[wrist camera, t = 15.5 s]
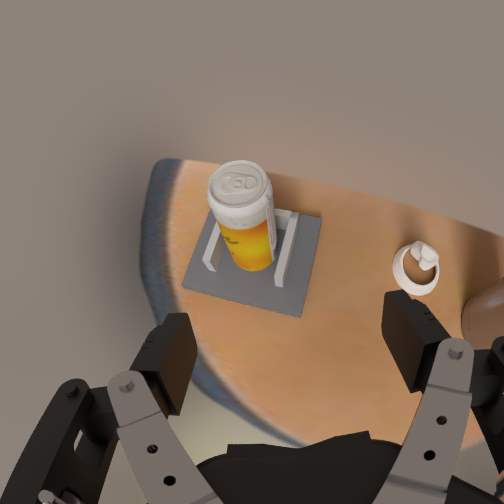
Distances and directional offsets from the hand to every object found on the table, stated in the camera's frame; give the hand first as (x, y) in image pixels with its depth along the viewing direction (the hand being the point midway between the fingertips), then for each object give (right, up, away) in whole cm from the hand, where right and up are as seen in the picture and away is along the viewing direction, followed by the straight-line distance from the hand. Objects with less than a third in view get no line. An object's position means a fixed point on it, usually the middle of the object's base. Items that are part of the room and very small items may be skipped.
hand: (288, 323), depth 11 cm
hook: (+22, 0, +26) cm, 33 cm away
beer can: (-1, +3, +28) cm, 28 cm away
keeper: (-1, +2, +29) cm, 29 cm away
